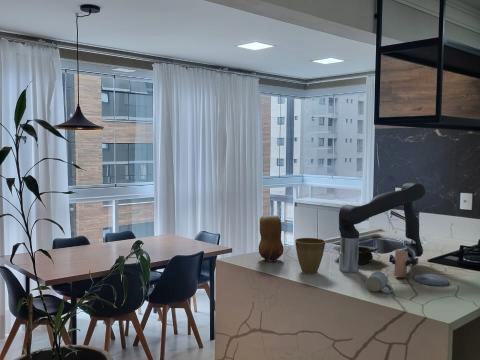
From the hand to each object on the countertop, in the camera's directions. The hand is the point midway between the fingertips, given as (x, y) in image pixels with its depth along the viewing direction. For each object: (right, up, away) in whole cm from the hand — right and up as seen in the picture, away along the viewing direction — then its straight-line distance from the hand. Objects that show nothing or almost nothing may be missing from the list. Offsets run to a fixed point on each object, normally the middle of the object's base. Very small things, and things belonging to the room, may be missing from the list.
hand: (399, 263), depth 223 cm
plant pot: (-42, -6, +11) cm, 43 cm away
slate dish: (+14, -8, -2) cm, 17 cm away
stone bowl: (-13, -5, +35) cm, 38 cm away
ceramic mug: (-15, -9, -17) cm, 24 cm away
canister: (+1, -6, +3) cm, 7 cm away
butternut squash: (-60, -4, +32) cm, 68 cm away
